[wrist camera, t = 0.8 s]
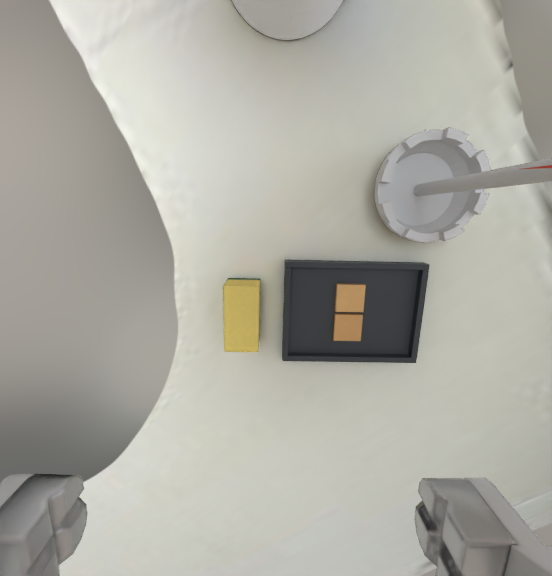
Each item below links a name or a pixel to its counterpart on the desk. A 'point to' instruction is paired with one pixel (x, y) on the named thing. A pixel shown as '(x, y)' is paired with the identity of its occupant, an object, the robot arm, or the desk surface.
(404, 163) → the flag stand
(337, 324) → the crumb
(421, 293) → the tray
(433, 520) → the robot arm
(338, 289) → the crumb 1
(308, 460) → the desk surface
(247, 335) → the sponge
